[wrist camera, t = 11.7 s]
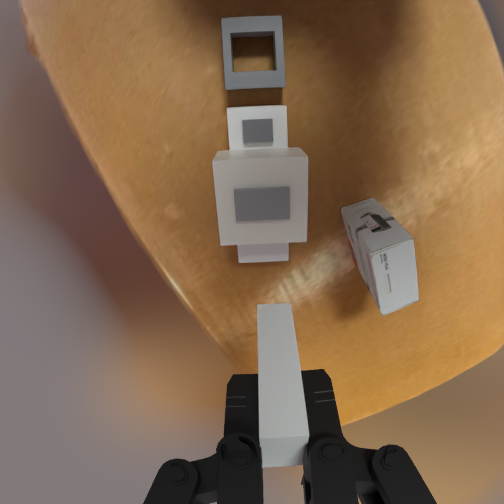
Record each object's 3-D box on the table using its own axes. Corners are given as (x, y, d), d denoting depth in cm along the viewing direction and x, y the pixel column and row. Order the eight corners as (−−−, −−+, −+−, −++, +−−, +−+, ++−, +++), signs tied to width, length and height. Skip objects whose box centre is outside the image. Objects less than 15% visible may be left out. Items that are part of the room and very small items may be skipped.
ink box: (385, 251, 40) (420, 303, 30) (353, 262, 41) (381, 319, 31) (374, 195, 36) (415, 236, 26) (338, 207, 37) (370, 253, 27)
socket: (228, 107, 31) (226, 108, 28) (283, 104, 31) (287, 106, 28) (239, 250, 40) (238, 265, 37) (286, 248, 40) (289, 263, 37)
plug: (220, 146, 33) (211, 162, 26) (296, 143, 33) (309, 158, 26) (226, 216, 37) (220, 248, 30) (296, 213, 37) (307, 244, 30)
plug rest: (223, 24, 26) (221, 18, 24) (279, 21, 26) (281, 15, 24) (227, 90, 30) (225, 89, 28) (282, 87, 30) (285, 87, 28)
